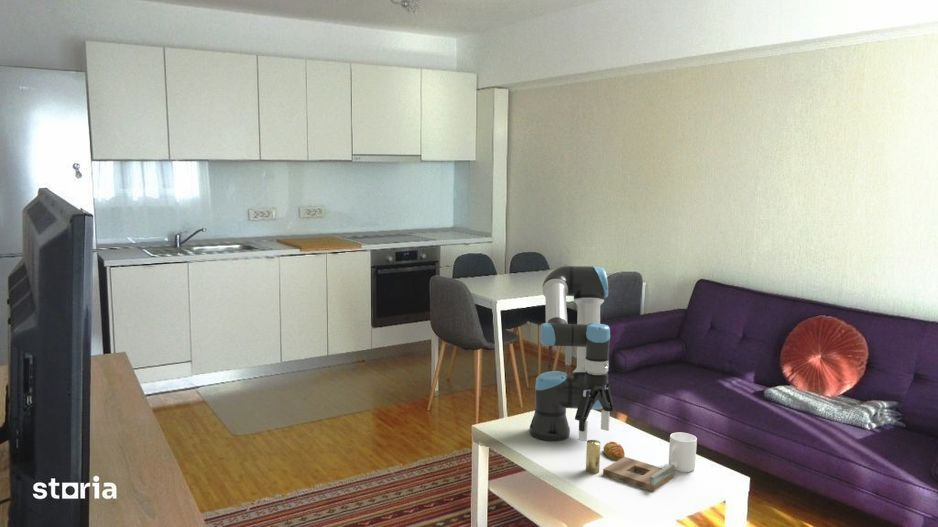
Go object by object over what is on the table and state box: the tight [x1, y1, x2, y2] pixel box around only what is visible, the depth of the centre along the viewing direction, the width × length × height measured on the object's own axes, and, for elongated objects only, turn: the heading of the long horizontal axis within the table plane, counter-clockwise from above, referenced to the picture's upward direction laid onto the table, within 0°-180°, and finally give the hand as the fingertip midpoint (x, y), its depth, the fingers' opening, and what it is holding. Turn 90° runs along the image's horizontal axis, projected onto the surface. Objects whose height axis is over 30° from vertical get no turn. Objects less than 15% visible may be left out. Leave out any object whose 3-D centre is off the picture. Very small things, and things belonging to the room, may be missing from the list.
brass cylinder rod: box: [585, 439, 601, 475], centre depth 235 cm, size 4×4×10 cm
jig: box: [602, 456, 675, 492], centre depth 232 cm, size 18×14×4 cm
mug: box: [668, 431, 698, 473], centre depth 239 cm, size 9×12×11 cm
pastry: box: [603, 441, 626, 461], centre depth 249 cm, size 9×7×4 cm
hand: (594, 435), depth 234 cm, fingers open, 13 cm apart
